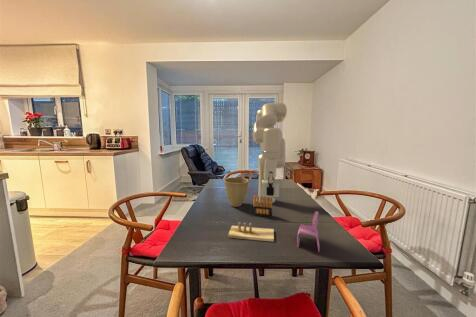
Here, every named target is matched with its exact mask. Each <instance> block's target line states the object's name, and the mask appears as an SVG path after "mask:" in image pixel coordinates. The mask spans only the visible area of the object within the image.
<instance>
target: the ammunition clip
mask: <svg viewBox="0 0 476 317" xmlns="http://www.w3.org/2000/svg"><path fill="white" fill-rule="evenodd" d="M256 198H257V201H256ZM252 206H253V207H252V215H253V216H258V217H259V216H260V217H261V216H262V217H270V218H273V203H272V197H270V202H269V197H267V200H265V196H264V197H263V202H262V196H260V203H259V195H258V194H257V195H256V194H255V193H254V194H253V205H252Z"/></svg>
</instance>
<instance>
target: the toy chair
mask: <svg viewBox="0 0 476 317" xmlns="http://www.w3.org/2000/svg"><path fill="white" fill-rule="evenodd" d="M318 216H319V211H318V210H317V211H314V214H313V216H312V219H311V222H312V223H311V224H312V225H306V224H302V223H301V224H300V225H299V227H298V231H297V235H296V243H297V244H296V245H297V248H300V242H301V239H300V234H303V235H309V236H313V237H315V238H316V242H317V243H316V244H317V250H318V253H320V240H319V233H318V229H317V226H318V222H319V217H318Z"/></svg>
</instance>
